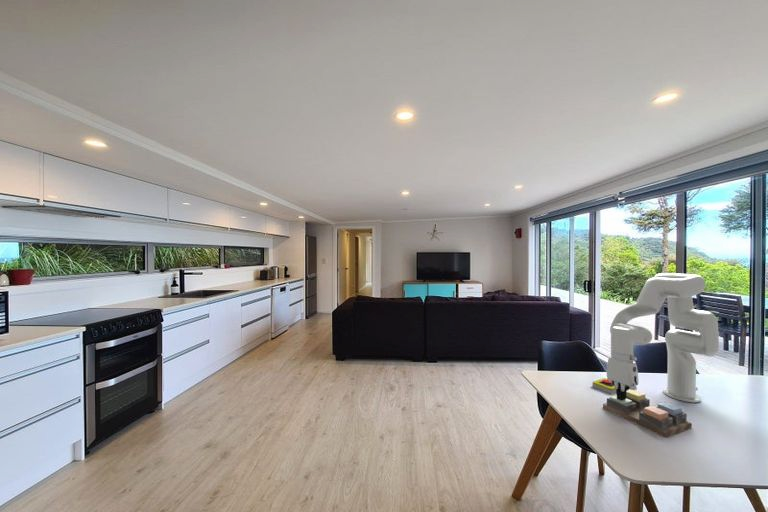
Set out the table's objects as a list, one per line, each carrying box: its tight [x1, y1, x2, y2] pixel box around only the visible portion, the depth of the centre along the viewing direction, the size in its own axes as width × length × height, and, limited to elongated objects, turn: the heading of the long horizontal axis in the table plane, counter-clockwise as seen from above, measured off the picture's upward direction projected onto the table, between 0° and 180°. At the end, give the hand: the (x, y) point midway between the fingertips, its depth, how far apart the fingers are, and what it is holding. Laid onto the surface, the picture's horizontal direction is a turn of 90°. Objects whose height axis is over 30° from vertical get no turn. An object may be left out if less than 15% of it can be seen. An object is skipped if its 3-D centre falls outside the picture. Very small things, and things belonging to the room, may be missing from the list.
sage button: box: [611, 395, 632, 405], centre depth 125 cm, size 5×5×3 cm
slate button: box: [657, 401, 683, 416], centre depth 117 cm, size 5×5×3 cm
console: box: [602, 396, 693, 438], centre depth 121 cm, size 17×22×5 cm
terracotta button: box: [644, 405, 668, 421], centre depth 114 cm, size 5×5×3 cm
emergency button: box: [590, 377, 622, 396], centre depth 148 cm, size 9×4×15 cm
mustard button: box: [626, 389, 646, 401], centre depth 128 cm, size 5×5×3 cm
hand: (621, 398), depth 125 cm, fingers closed
